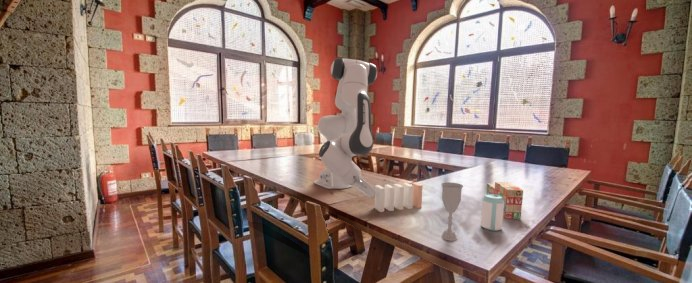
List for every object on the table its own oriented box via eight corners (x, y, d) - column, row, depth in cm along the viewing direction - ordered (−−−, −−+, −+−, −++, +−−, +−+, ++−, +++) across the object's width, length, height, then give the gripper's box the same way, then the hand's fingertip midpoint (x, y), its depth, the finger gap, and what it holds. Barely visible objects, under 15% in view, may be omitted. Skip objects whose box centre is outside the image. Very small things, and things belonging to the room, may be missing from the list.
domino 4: (408, 209, 127) (409, 186, 126) (402, 205, 132) (402, 183, 131) (412, 208, 128) (413, 186, 127) (405, 204, 133) (406, 183, 132)
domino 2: (389, 211, 124) (390, 187, 123) (383, 206, 130) (384, 184, 128) (393, 210, 125) (394, 187, 124) (387, 206, 130) (388, 184, 129)
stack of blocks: (485, 202, 139) (487, 176, 138) (499, 203, 138) (501, 177, 137) (504, 219, 118) (506, 188, 116) (521, 220, 117) (523, 189, 116)
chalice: (456, 244, 94) (459, 189, 92) (435, 238, 98) (438, 185, 97) (462, 236, 100) (466, 184, 98) (442, 231, 104) (445, 181, 102)
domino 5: (417, 208, 129) (418, 185, 128) (410, 204, 134) (411, 182, 133) (421, 207, 129) (422, 185, 128) (414, 203, 134) (415, 182, 133)
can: (480, 222, 113) (482, 192, 112) (500, 225, 110) (503, 194, 109) (481, 229, 106) (483, 197, 105) (503, 232, 104) (505, 199, 103)
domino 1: (379, 212, 123) (380, 188, 122) (374, 207, 128) (375, 185, 127) (384, 211, 124) (385, 188, 122) (378, 207, 129) (379, 185, 128)
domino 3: (399, 210, 126) (400, 187, 125) (393, 206, 131) (393, 184, 130) (403, 209, 126) (404, 186, 125) (397, 205, 132) (397, 183, 131)
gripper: (365, 174, 110) (387, 197, 115) (347, 164, 130) (367, 184, 134) (353, 186, 110) (377, 209, 114) (337, 174, 129) (358, 194, 133)
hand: (371, 195), depth 124 cm, fingers closed
